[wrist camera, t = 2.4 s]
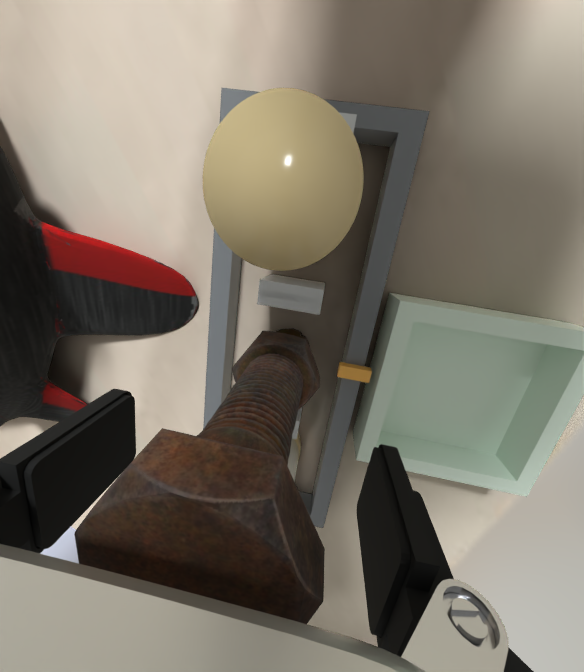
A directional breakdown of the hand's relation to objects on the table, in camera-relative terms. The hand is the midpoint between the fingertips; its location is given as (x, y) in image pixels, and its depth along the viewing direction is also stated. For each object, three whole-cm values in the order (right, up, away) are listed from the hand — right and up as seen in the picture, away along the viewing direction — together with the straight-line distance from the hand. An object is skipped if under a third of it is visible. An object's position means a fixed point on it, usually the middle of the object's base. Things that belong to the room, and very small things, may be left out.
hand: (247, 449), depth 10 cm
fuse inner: (+3, +11, +7) cm, 14 cm away
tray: (+13, +1, +9) cm, 15 cm away
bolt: (+1, +4, +10) cm, 10 cm away
